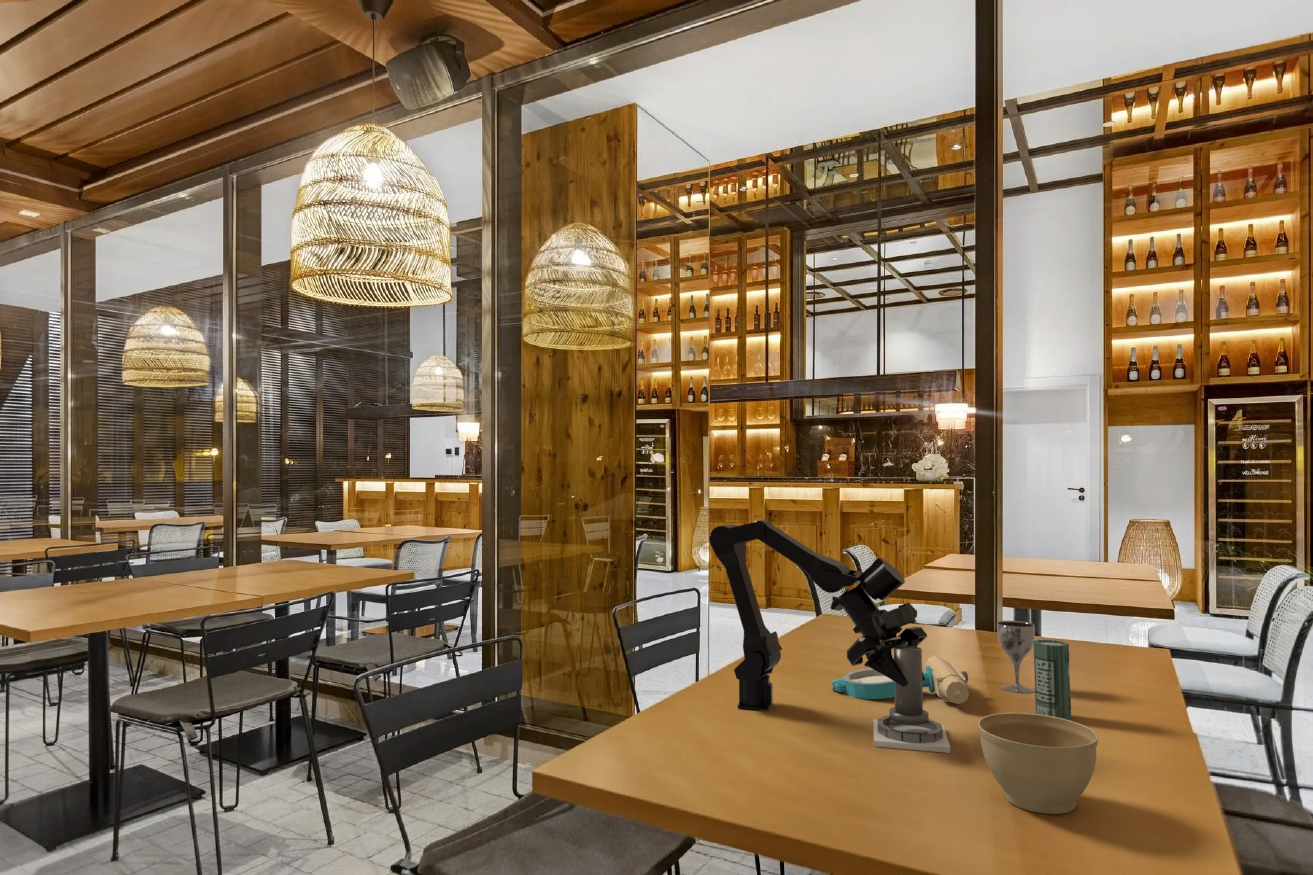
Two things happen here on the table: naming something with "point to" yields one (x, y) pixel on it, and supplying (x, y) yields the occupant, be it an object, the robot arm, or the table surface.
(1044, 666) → the can
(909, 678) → the pipe fitting
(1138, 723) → the table surface
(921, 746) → the flange plate
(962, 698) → the butterfly valve
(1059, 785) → the planter bowl
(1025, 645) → the wine glass
